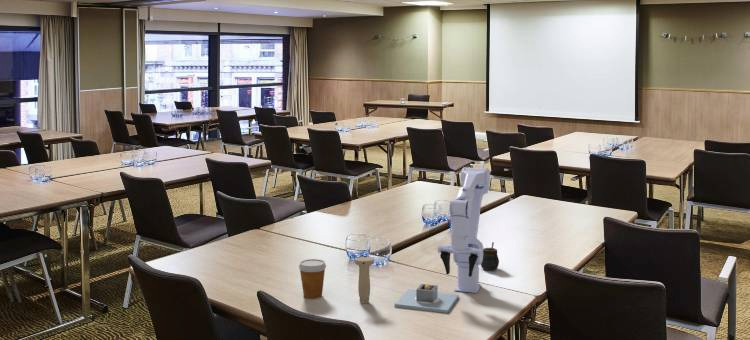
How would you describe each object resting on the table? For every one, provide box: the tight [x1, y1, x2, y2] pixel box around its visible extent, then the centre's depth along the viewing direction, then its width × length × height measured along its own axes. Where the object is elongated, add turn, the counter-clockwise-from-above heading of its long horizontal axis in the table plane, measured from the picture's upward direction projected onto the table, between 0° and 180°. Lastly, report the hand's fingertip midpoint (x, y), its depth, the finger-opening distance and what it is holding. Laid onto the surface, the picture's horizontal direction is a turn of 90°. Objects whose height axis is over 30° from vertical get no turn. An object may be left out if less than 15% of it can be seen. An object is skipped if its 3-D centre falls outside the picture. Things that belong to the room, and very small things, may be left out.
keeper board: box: [394, 284, 460, 314], centre depth 235 cm, size 16×18×6 cm
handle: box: [354, 256, 375, 304], centre depth 235 cm, size 5×6×15 cm
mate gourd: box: [480, 241, 500, 272], centre depth 273 cm, size 7×8×10 cm
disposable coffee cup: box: [298, 258, 327, 300], centre depth 241 cm, size 10×10×12 cm
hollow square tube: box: [415, 283, 439, 303], centre depth 235 cm, size 6×6×4 cm
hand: (459, 274), depth 235 cm, fingers open, 7 cm apart
